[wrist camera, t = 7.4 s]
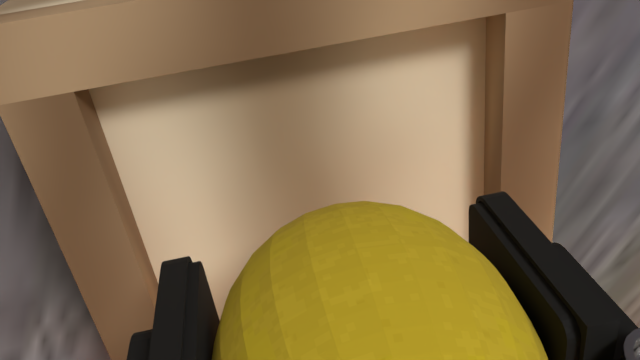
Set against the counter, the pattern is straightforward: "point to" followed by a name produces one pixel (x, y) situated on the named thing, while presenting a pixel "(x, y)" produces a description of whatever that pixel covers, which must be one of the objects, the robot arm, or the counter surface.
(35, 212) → the counter surface
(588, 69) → the counter surface
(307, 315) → the lemon
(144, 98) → the square wooden box
